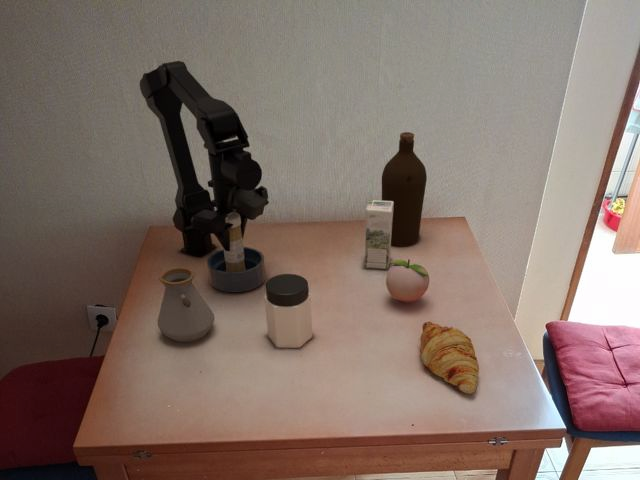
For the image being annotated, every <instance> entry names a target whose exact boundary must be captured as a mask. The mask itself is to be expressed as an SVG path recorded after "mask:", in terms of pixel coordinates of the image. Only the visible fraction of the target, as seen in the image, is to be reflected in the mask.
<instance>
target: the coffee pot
mask: <svg viewBox="0 0 640 480" xmlns="http://www.w3.org/2000/svg"><path fill="white" fill-rule="evenodd" d="M194 277H195V273H194V271H193V269H190V268H188V267H174V268H170V269H167V270H165V271H164V272H162V273H161V275H160V276H159V277H158V281H160V282H161V283H162V284H163V285H164V286H165V288H164V292H163V297H162V299H161V304H160V309H159V313H158V317H157V328H158V329H159V331H160V332H161V333H162V334H163V335H164V336H165V337H167V338H169V339H172V340H173V341H176V342H178V343H179V342H180V343H190V342H195V341H198V340H200V339H202V338H203V337H205V335H206V334H207V333H208V332H210V330H211V329H212V327H213V325H214V322H215V313H214V312H213V311H212V309H211V308H210V306H209V304H208V303H207V302H206V300H205V299H204V297H203V296H202V294H201V293H200V291H198V288H196V286H195V285H194V283H193V279H194Z"/></svg>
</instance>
